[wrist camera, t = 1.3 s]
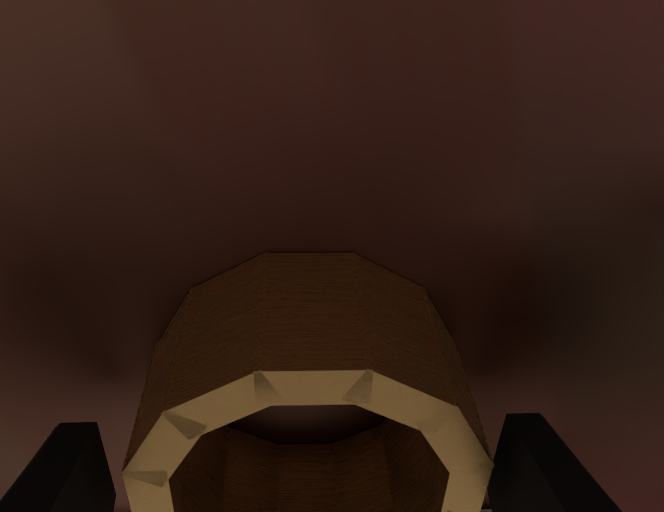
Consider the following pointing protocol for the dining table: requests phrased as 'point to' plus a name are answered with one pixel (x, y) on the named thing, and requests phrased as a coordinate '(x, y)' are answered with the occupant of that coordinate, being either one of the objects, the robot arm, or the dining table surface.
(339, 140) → the dining table surface
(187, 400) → the wooden ring
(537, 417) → the robot arm
